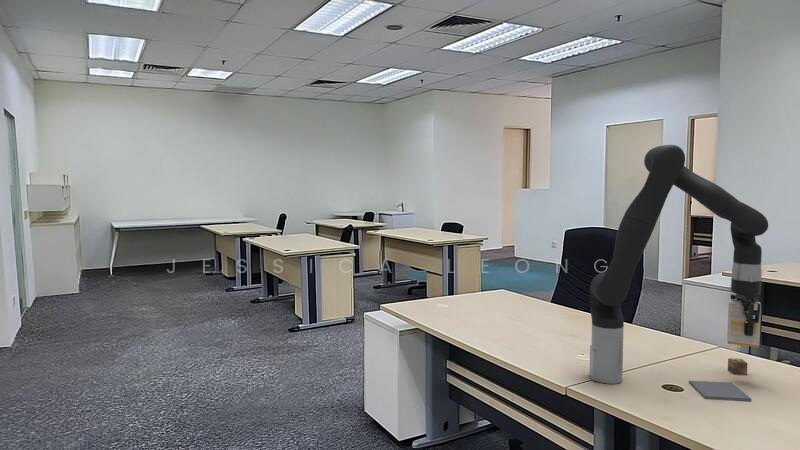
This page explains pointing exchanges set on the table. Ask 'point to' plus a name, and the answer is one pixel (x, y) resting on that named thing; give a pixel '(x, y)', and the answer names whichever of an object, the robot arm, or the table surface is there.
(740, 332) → the supplement box
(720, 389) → the rubber mat
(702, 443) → the table surface
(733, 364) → the letter cube
